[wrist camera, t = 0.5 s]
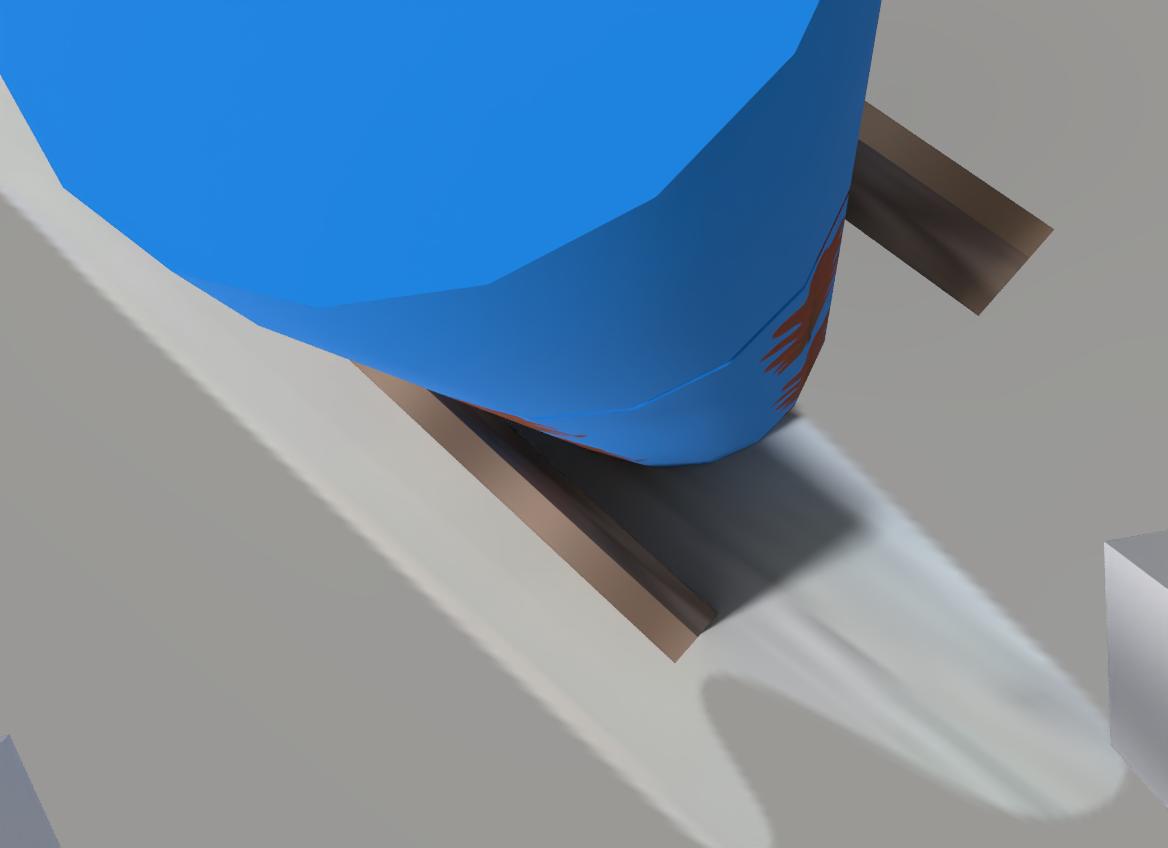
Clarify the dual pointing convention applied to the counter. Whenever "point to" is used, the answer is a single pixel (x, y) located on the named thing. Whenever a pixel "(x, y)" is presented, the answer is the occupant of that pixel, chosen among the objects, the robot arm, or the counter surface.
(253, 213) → the thermos
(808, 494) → the counter surface
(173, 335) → the counter surface
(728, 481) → the counter surface
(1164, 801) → the robot arm
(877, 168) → the wooden frame
